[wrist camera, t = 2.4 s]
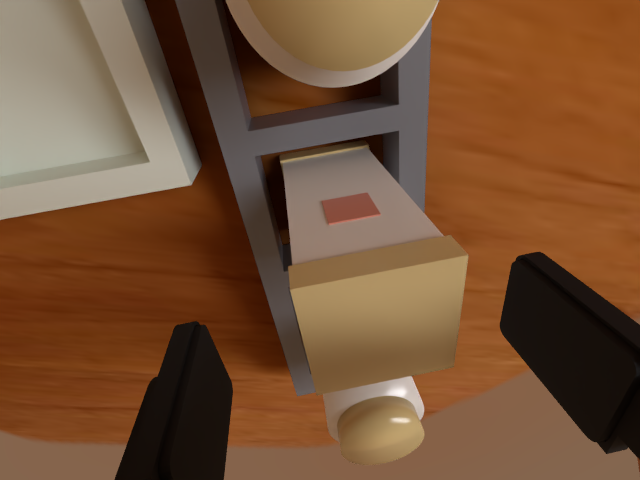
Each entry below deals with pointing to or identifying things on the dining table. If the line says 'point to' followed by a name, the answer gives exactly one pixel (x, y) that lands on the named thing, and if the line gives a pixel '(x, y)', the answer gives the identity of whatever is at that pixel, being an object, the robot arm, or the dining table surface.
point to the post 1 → (332, 35)
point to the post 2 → (376, 420)
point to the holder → (299, 132)
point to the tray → (86, 106)
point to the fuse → (367, 271)
